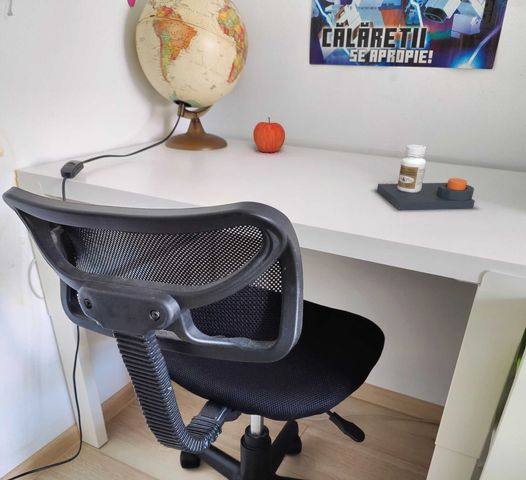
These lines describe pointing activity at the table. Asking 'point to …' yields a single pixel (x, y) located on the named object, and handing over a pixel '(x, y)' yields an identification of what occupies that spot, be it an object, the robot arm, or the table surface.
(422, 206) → the grey button base
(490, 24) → the robot arm
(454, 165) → the table surface
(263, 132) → the apple
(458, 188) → the button
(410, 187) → the pill bottle
